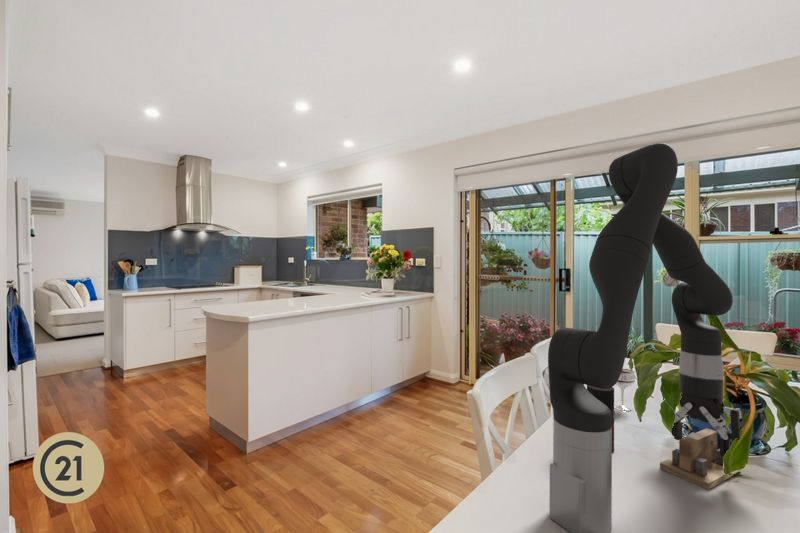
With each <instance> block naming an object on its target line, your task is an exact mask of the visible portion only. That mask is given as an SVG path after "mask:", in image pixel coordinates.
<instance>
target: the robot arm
mask: <svg viewBox="0 0 800 533" xmlns="http://www.w3.org/2000/svg"><path fill="white" fill-rule="evenodd" d="M678 167H679V163H678V157H677V152H676V151H675V150H674V148H673V147H672V146H671V145H669V144H667V143H666V142H665V143H664V142H657V143H652V144H649V145H645V146H643V147H640V148H638V149H636V150H633V151H630V152H628V153H625V154H623V155H621V156H618V157H616V158H615V159H613V160H612V162H611V163H610V165H609V167H608V168H609V169H608V179H609V183H610V184H611V186H612V188H613V190H614V193H615V194H616V195H617V197H618V198H619V199H620V201H621V202H622V203H623V206H622V207H621V208H620V210H619V211H617V212H616V213H615V214H614V216H613V217H612V218H611V219H610V220H609V221H608V222H607V223H606V225H604V226H603V228H602V229H601V231H600V233H599V234H598V236H597V237H596V238H597V239H596V240H595V243H594V247H593V249H592V252H591V255H590V259H589V265H588V267H589V269H588V270H589V272H590V276H591V279H592V282H593V283H594V287H595V288H596V290H597V292H598V295H599V298H600V301H601V305H602V306H601V307H602V314H601V319H600V323H599V326H598V328H597V331H596V330H588V329H581V328H573V327H572V328H571V327H561V328H558V329H557V330H556V331H555V332H554V333H553V334H552V335H551V336H552V337H551V338H550V341H549V345H548V349H547V350H548V352H547V367H548V368H547V369H548V383H549V385H548V386H549V400H550V404H551V407H552V411H553V412H552V413H553V414H552V419H553V422H552V426H553V427H552V428H553V433H552V434H553V436H552V440H553V441H552V445H553V446H552V447H553V448H552V452H553V453H552V459H553V460H552V462H551V463H550V464H549V514H548V516H549V518H550V519H551V520H553V522H556V523H557V524H558V525H560V526H561V527H563V528H564V529H565V530H566V531H568V532H569V533H611V532H612V528H613V524H612V523H613V517H612V513H613V512H612V511H613V504H612V501H613V494H612V492H613V491H612V490H613V487H612V485H613V484H612V482H613V481H612V480H613V479H612V478H613V477H612V475H613V474H612V472H613V471H612V470H613V468H612V467H613V463H612V462H613V461H612V460H613V453H612V414H611V411H610V409H609V408H608V407H607V406H606V405H605V404H604V403H602V402H601V401H599V400H598V399H597V398H595V397H594V396H593V395H592V394H591V393H590V392H589V391H588V390H587V385H589V386H593V387H597V388H602V389H609V388H611V387H613V388H614V386H615V385H616V382H617V381H618V379H619V377H620V375H621V372H622V369H623V368H624V364H625V359H626V356H627V354H626V353H627V349H628V345H629V344H628V343H629V339H630V338H629V337H630V332H631V325H632V320H633V315H634V310H635V306H636V301H637V299H638V295H639V293H640V292H639V291H640V287H641V284H642V282H643V278H644V274H645V272H646V270H647V267H648V266H647V265H648V262H649V259H650V256H651V250H652V246H653V247H654V250H656V253H657V255H658V256H659V259H660V260H661V263H662V264H663V267H664V269H665V271H666V272H667V275H669V277H670V278H672V279H673V280H676V281H679V283H678V284H677V285H676V286H675V287H674V289H673V290H672V294H671V305H672V310H673V312H674V315H675V319H676V322H677V325H678V327H679V330H680V354H679V359H678V360H679V365H678V366H679V367H678V368H679V369H678V374H679V375H678V380H679V381H678V390H679V392H680V391H681V392H682V393H683V395H682V398H681V400H680V403H679V405H680V406H681V408H680V409H679V410H677V412H675V413H674V414H675V421H674V426H673V428H672V427H671V436H673V438H674V440H676V441H679V439H682V438H683V422H682V421H683V420H684V419H685V418H686V417H687V416H688V417H689V418H690V419H694V420H700V421H701V422H704V423H709V424H710V425H711V427H712V428H713V429H715V431H717V434H719V436H720V438H719V449H720V456H723V457H724V455H725V453H726V451H727V450H728V449H729V447H730V446H731V444H732V445H733V440H734V441H739V440H741V439H740V429H741V428H742V427H744V428H745V423H744V411H743V409H741V408H739V407H737V408H735V407H728V406H726V405H725V404H724V375H725V373H724V362H723V356H722V353H723V352H722V347H723V346H722V344H723V343H722V342H723V338H722V337H723V336H722V332H721V330H720V329H719V328H718V327H715V326H713V325H710V324H707V322H705V321H704V319H703V318H702V315H704V316H705V315H706V316H714V317H718V316H723V315H725V314H727V313H728V312H729V311H730V310H731V309H732V306H733V302H734V298H733V294H732V291H731V289H730V287H729V286H728V284H727V283H726V282H725V281H724V280H723V279H722V278H721V277H720V276H719V274H717V272H716V271H715V270H714V269H713V268H712V267H711V266H710V265H709V264H708V263H707V262H706V260H705V258H704V256H703V254H702V252H701V249H700V248H699V245H698V244H697V241H696V239H695V238H694V236H693V235H692V233H691V232H689V231H688V230H687V228H685V227H684V226H683V225H681V224H680V223H678V222H677V221H676V220H674V219H672V218H671V217H670V216H668V215H666V214H665V213H664V212H663V210H664V208H665V206H666V203H667V201H668V198H669V196H670V194H671V192H672V189H673V186H674V185H675V182H676V179H677V174H678V170H679V169H678ZM663 400H664V397H663V396H662V401H663ZM724 413H725V414H726V415H727V417H728V418H729V419H730V427H729V426H728V425H727V426H726V423H727V422H726V420H725V418H723V416H722V415H723V414H724ZM735 438H738V439H737V440H735Z"/></svg>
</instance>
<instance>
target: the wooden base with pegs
mask: <svg viewBox="0 0 800 533" xmlns="http://www.w3.org/2000/svg"><path fill="white" fill-rule="evenodd" d="M659 469H662V470H663V471H666V472H668V473H671V474H673V475H675V476H678V477H680V478H682V479H684V480H686V481H688V482H689V481H690V482H692V483H693V484H695V485H699V486H701V487H703V488H705V489H707V490H711V489H712V488H714V487H716V486H717V485H719V484H721V483H723V482H724V481H727V480H728V479H730V478H732V477H733V476H735V475H734V474H731V475H729V474H725V473H724V469H723V456H720V448H717V450H716V459H715V460H713V461H711V462H709V463H707V460H705V459H703V458H699V459H697V460H696V469H695V470H693V471H691V472H689V471H687V470H685V469H682V468H680V467H679V448H675V449H673V450H672V451H671V457H669V458H667V459H665V460H662V461H660V462H659Z"/></svg>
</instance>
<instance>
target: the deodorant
mask: <svg viewBox="0 0 800 533" xmlns="http://www.w3.org/2000/svg"><path fill="white" fill-rule="evenodd" d="M586 389H587V390H588V391H589V392H590V393H591V394H592V395H593V396H594V397H595V398H597V399H598V400H599V401H601V402H602V403H604V404H605V405H606V406H607V407H608V408H609V409H610V411H611V414H612V454H613V453H615V408H614V406H615V388H614V386H613V387H611V388H609V389H602V388H597V387H593V386H589V385H586Z"/></svg>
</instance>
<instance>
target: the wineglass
mask: <svg viewBox="0 0 800 533" xmlns="http://www.w3.org/2000/svg"><path fill="white" fill-rule="evenodd" d="M631 370H632V369H628V368H624V367H623V369H622V372H621V375H620V377H619V379H618V381H617V382H616V384H615V385H616V386H618V388H619V389H620V391H621V392H620V393H621V394H620V395H621V396H620V397H621V398H620V399H621V405H615V406H616V408H618V409H621V410H622V409H623V410H624V409H625V410H628V408H629V407H628V406H624V397H625V396H624V395H625V389H626V388H630V387H631V386H632V385H633V384H634V383H635V382H636V376H635V375H634V374H635V373H636V372H635V370H632V372H631ZM627 407H628V408H627Z"/></svg>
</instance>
